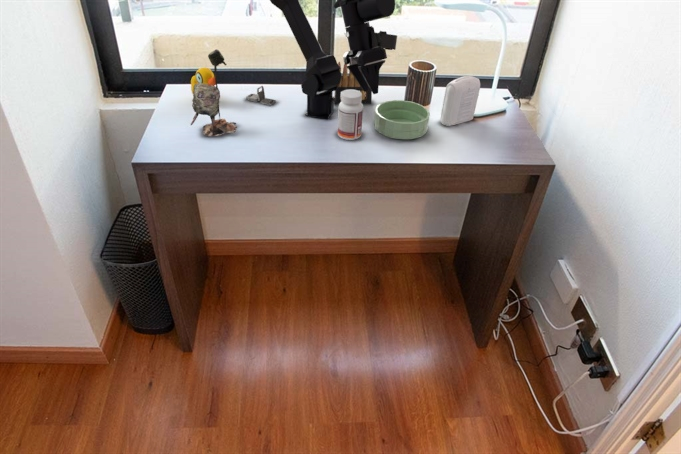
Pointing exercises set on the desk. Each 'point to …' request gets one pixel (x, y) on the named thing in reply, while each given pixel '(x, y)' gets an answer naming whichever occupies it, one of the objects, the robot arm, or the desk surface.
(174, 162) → the desk surface
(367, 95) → the ammunition clip
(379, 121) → the bowl
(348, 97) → the pill bottle
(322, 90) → the robot arm
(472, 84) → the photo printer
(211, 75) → the duckling
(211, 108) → the rough stone-bodied figurine
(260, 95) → the strap clip
